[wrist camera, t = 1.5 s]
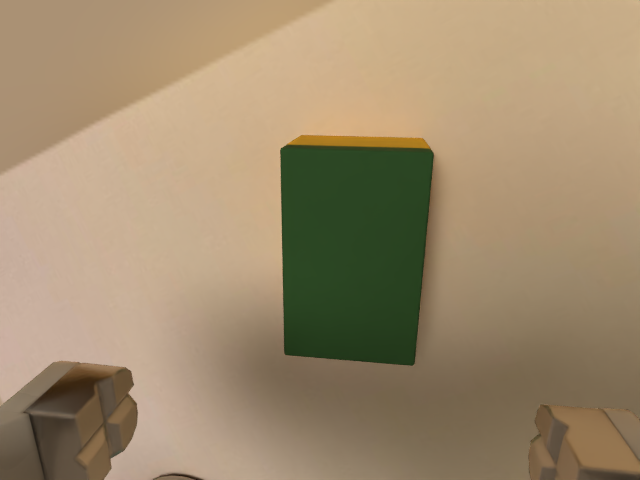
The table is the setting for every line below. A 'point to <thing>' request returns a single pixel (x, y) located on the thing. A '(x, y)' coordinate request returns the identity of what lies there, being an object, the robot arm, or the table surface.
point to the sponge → (354, 246)
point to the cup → (174, 478)
